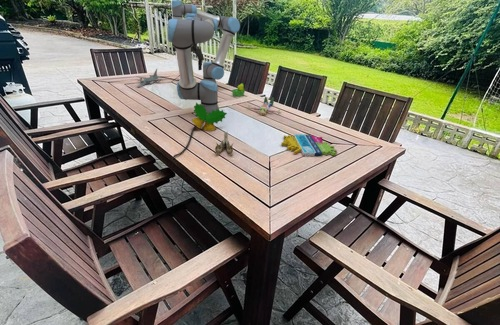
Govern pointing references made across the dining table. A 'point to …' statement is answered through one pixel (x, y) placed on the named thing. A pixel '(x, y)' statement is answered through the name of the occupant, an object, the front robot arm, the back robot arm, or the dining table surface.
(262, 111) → the toy
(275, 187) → the dining table surface
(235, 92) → the green box with toys
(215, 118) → the ornament
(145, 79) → the airplane
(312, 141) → the colourful gloves pack
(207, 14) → the back robot arm
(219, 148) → the jawbone
